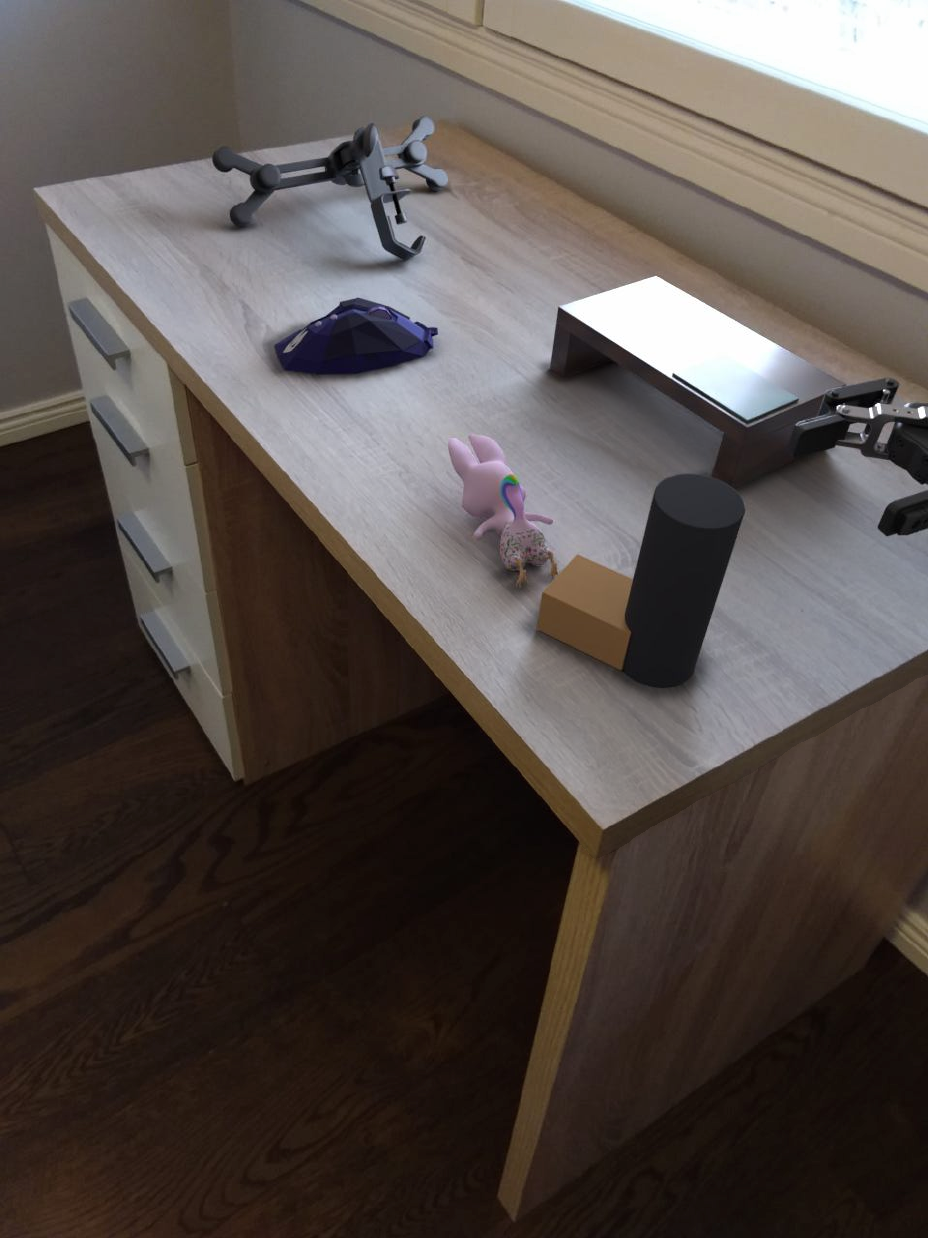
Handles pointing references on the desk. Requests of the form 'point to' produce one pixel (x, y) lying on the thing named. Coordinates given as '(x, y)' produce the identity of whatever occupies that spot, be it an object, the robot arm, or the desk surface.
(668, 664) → the cylinder with tan block
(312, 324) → the computer mouse
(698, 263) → the desk surface
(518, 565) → the rabbit figure
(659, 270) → the desk surface
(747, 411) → the low wooden bench
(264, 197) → the tablet mount
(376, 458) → the desk surface
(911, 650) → the desk surface
